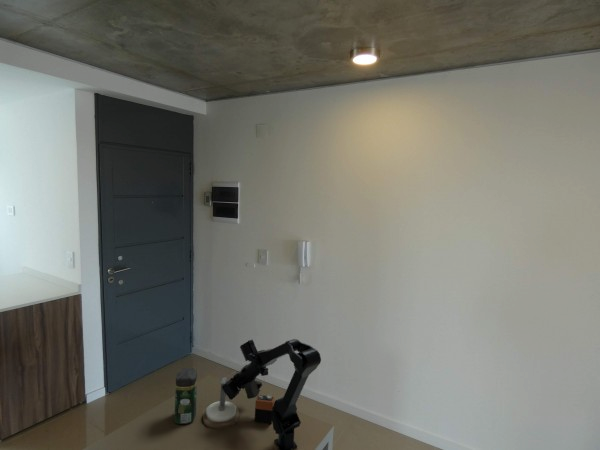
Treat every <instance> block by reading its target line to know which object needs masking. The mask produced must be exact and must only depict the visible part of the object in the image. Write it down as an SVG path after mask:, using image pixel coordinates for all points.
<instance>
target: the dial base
mask: <svg viewBox="0 0 600 450" xmlns="http://www.w3.org/2000/svg"><path fill="white" fill-rule="evenodd" d="M206 410H207V408H205V410H204V411H203V413H202V422H203V424H204V425H205V426H207V427H209V428H211V429H218V430H219V429H220V430H221V429H226V428H229V427H232V426H234V425H236V423H237V422H238V421H239V420H240V410H239V409H238V407H236V415H235V416H234V417H233V418H232V419H231V420H228V421H225V422H214V421H211V420H209V419H208V418H207V416H206Z"/></svg>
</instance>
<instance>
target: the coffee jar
mask: <svg viewBox="0 0 600 450" xmlns="http://www.w3.org/2000/svg"><path fill="white" fill-rule="evenodd" d="M174 384H175V386H174V387H175V388H174V390H175V392H174V393H175V394H174V419H173V421H174V423H176V424H179V425H186V424H190V423H192V422H193V421H195V418H196V413H197V386H198V385H197V384H198V372H197V370H196V369H195V368H193V367H183V368H182V369H180V370H179V371H178V372H177V375H176V376H175V383H174Z"/></svg>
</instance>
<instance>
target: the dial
mask: <svg viewBox="0 0 600 450" xmlns="http://www.w3.org/2000/svg"><path fill="white" fill-rule="evenodd" d="M227 381H228V378H227V377H222V379H221V382H220V398H219V400H220V401H219V400H218V401H215V402H213V403H211V404H209V405H208V406H207V407H206V409H207V410H206V409H205V410H206V416H207V418H208V419H209V420H211V421H214V422H225V421H228V420H231V419H232V418H233V417H234V416H235V415H236V408H237V406H236V404H234V403H233V402H231V401H227V395H226V393H225V392H224V390H223V389H222V386H223V385H224V384H225V383H226V382H227Z"/></svg>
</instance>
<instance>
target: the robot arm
mask: <svg viewBox="0 0 600 450" xmlns="http://www.w3.org/2000/svg"><path fill="white" fill-rule="evenodd" d="M239 348H240V351H241V353H242V355H243V358H244V360H245V362H247V361H248V362H249V363H248V364H245V365H244V366H243V367H242V368H241V369H240V371H239V372H237V373H235V374H234V375H233V377H231V378H229V379H228V380H227V382H226V383H225V384H224V385H223V386H222V389H223V390H224V392H225V393H226V397H228V399H229V400H231V401H232V400H234V399H235V398H236V397H237V396H238V395H239V394H240V392H241V391H242V390H244V391H245V393H246V398H247V399H254V398H257V396H258V395H260V392H261V388H262V387H263V384H262V382H261V381H257V380H256V379H257V377H258V376H260V375H261V377H264V376H268V375H269V368H268V366H270V365H273V364H274V363H275V362H277V360H278V359H280V358H281V357H285V356H286V355H288V356H289V360H290V361H291V362H292V363H293V366H294V367H293V368H294V373H293V375H292V377H291V379H290V381H289V384H288V386H287V388H286V390H285V393H284V395H283V397H280V398H278V399H276V400H274V406H273V407H272V409H273V410H272V423H271V424H272V428H273V429H272V430H273V431H274V432H275V434H276V435H277V438H275V439H274V440H273V443H274V444H275V445H276V446H277V449H278V450H294V449H297V448H298V445H297V443H296V442H295V429H297V428H299V427H300V426H301V424H302V422H301V419H300V417H299V415H298V412H297V410H298V407H297V402H298V400H299V397H300V395H301V393H302V390H303V389H304V387H305V385H306V382H307V379H308V378H309V376H310V375H311V374H312V373H313V372H314V371H315V370H316V369H317V368H318V367H319V365H321V361H322V358H321V354H320V352H319V350H317V349H316V348H314V347H313V346H311V345H309V344H307V343H304V342H302V341H300V340H299V339H297V338H292V339H290V340H286V341H285V342H283V343H281V344H280V345H277V346H276V347H273V348H268V349H261V350H257V347H256V344H255V342H254V340H253V339H250V340H247V341H246V342H244V343H243V344H241V345H240V346H239ZM297 352H298V353H297ZM241 389H242V390H241Z"/></svg>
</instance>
